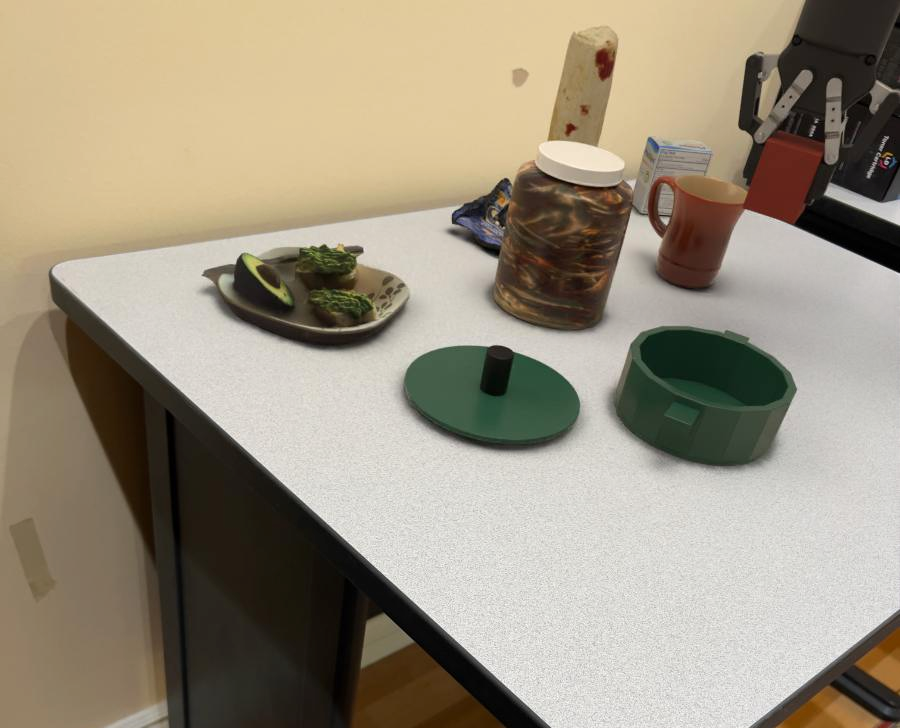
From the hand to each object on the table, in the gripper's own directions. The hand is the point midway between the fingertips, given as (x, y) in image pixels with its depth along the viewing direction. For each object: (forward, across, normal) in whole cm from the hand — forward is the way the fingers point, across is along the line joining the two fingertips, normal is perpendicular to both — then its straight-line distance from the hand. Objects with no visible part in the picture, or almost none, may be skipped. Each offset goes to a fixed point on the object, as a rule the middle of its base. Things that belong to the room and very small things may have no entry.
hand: (779, 192), depth 84 cm
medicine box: (+16, +18, -34) cm, 41 cm away
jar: (+16, +18, +6) cm, 25 cm away
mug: (+16, +10, -14) cm, 23 cm away
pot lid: (+15, +14, +28) cm, 35 cm away
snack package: (+16, +30, -7) cm, 34 cm away
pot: (+15, -2, +18) cm, 24 cm away
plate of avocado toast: (+16, +36, +24) cm, 46 cm away
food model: (+16, +30, -26) cm, 43 cm away
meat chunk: (+2, 0, 0) cm, 2 cm away
